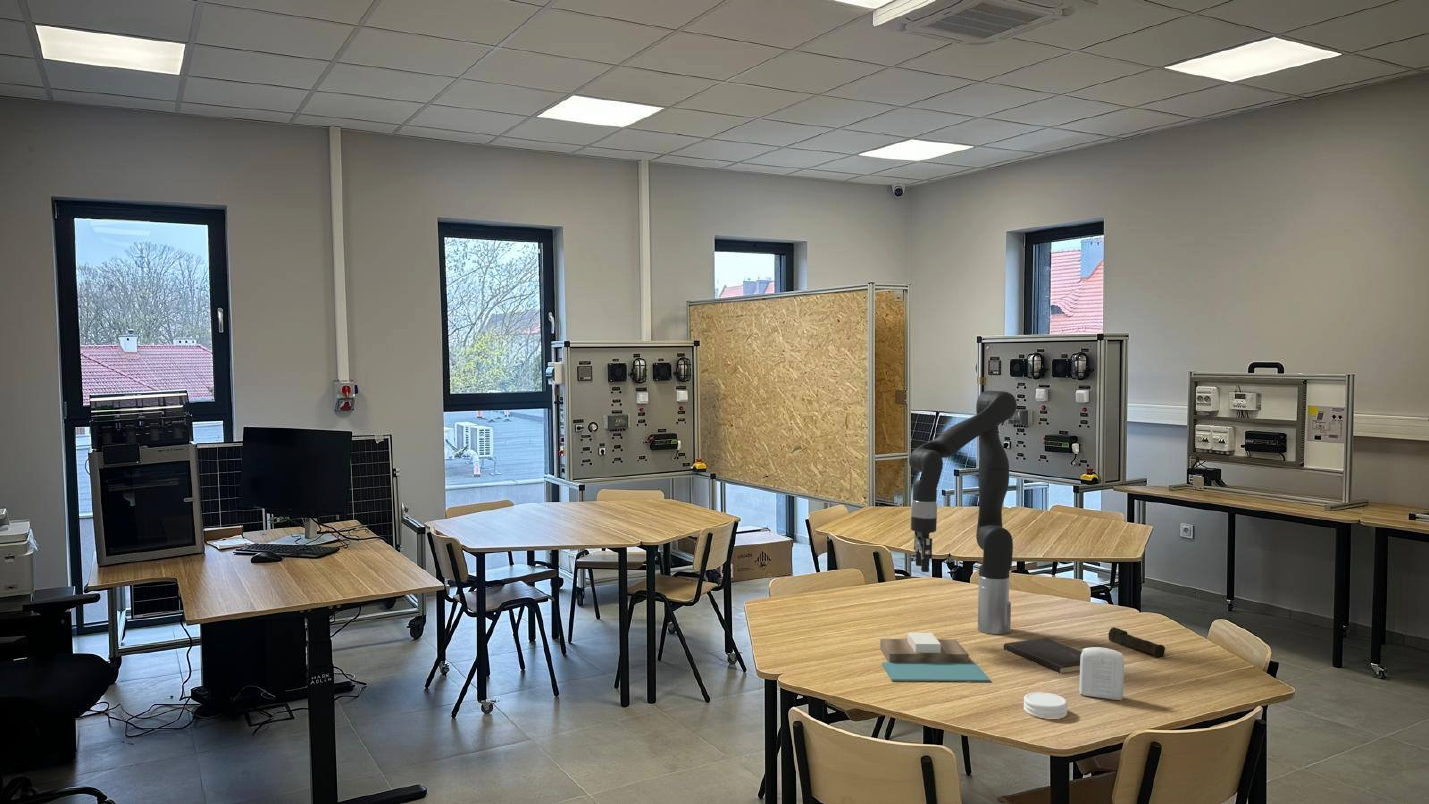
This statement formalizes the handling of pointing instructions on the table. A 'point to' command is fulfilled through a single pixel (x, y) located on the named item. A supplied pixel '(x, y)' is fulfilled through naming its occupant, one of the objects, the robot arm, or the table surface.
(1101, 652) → the white upright block
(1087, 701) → the table surface
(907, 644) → the deck
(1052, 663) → the hardcover book
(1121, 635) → the hand tool
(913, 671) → the mat
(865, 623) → the table surface
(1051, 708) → the white disc stack
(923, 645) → the white flat block
